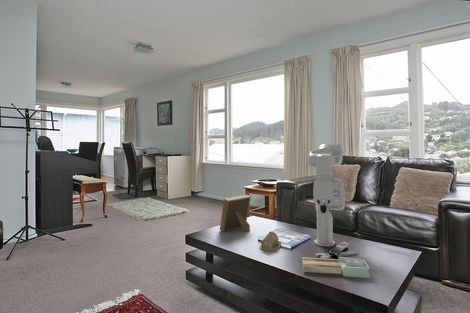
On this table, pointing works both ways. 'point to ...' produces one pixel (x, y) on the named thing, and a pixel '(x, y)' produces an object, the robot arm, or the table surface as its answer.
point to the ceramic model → (270, 242)
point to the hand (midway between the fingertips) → (323, 212)
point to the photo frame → (235, 213)
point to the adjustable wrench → (327, 256)
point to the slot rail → (321, 265)
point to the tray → (354, 269)
